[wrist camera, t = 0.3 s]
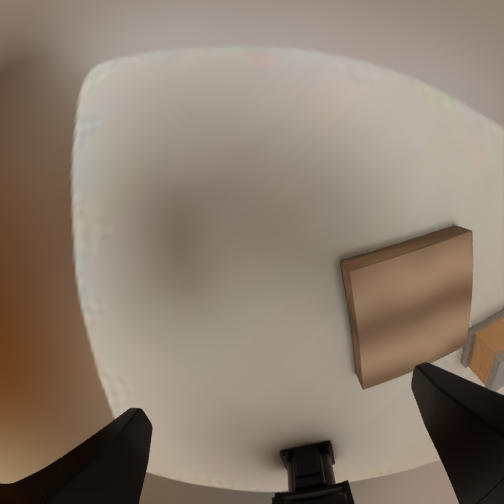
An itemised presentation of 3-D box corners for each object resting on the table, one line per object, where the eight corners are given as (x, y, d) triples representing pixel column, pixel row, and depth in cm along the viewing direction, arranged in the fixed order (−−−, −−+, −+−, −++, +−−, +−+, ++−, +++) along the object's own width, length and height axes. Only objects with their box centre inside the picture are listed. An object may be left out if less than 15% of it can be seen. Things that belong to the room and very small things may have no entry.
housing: (501, 337, 23) (530, 363, 16) (460, 362, 23) (488, 396, 17) (507, 305, 21) (541, 329, 15) (465, 330, 22) (500, 362, 16)
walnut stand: (454, 333, 22) (465, 345, 20) (356, 373, 24) (362, 389, 21) (455, 225, 19) (472, 230, 17) (340, 261, 21) (349, 271, 18)
